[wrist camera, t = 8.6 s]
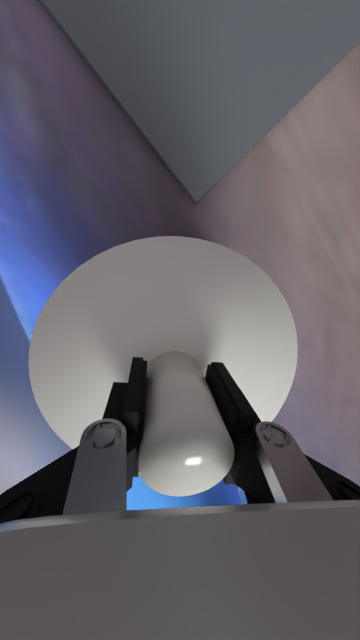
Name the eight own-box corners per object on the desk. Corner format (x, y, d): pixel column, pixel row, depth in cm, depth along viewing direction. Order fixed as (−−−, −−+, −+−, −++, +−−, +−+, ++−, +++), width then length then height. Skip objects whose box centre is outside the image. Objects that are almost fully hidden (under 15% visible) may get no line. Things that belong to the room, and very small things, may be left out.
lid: (178, 164, 9) (215, 40, 4) (330, 365, 14) (447, 439, 8) (-24, 375, 11) (-195, 494, 6) (168, 495, 16) (176, 627, 10)
